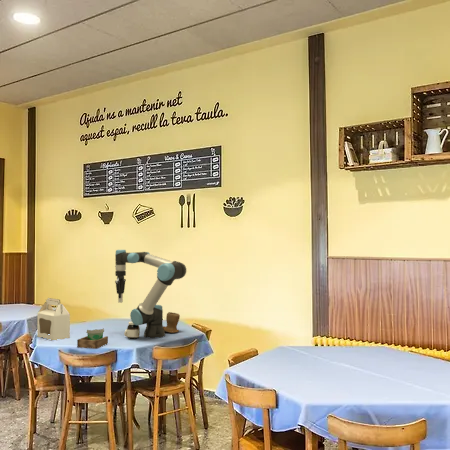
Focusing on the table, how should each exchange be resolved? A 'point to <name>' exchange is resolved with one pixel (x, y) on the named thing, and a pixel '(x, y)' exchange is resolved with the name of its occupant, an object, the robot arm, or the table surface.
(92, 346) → the walnut pen
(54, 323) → the gable box
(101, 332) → the food container
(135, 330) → the spread jar
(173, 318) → the brown ankle boot
